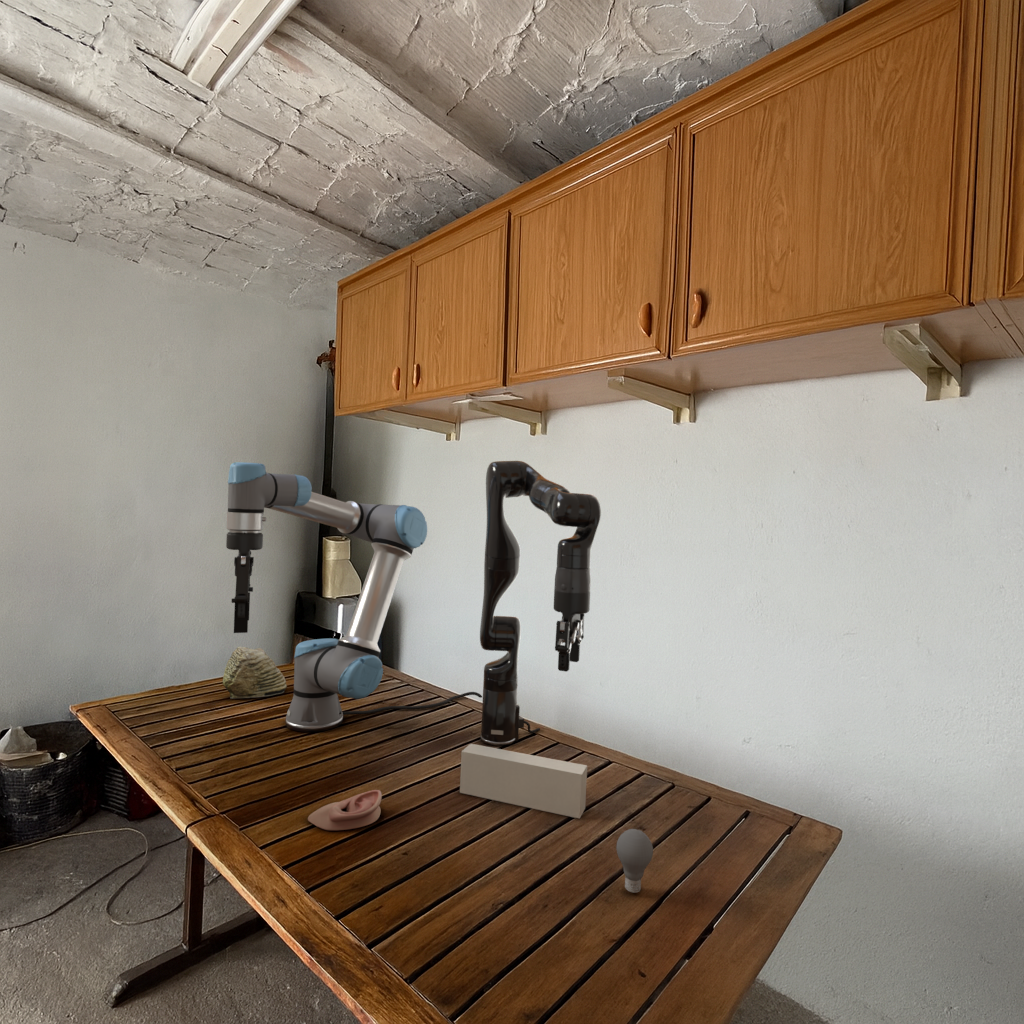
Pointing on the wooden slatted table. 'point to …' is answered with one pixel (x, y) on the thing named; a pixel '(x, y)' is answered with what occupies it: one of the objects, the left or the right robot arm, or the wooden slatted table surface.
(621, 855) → the light bulb
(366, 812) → the anatomical model
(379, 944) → the wooden slatted table surface
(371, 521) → the left robot arm
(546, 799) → the bar
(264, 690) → the fossil
